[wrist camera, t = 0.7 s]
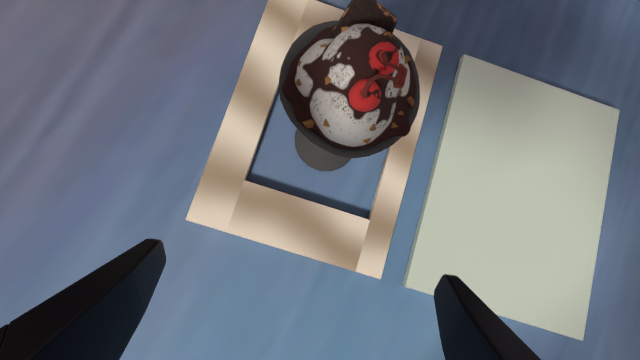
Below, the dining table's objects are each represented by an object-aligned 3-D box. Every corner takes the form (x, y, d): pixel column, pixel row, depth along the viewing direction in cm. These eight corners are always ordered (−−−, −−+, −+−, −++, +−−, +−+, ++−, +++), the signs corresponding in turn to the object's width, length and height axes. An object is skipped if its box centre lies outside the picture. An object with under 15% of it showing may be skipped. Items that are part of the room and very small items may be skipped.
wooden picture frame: (378, 277, 22) (380, 279, 22) (188, 219, 21) (185, 219, 21) (439, 50, 25) (442, 46, 25) (274, -10, 24) (273, -15, 24)
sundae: (326, 200, 23) (393, 170, 8) (266, 138, 23) (223, -4, 8) (383, 144, 24) (537, 25, 9) (326, 85, 24) (384, -128, 9)
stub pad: (575, 337, 23) (583, 341, 23) (402, 284, 22) (405, 286, 22) (612, 112, 26) (619, 110, 26) (460, 57, 25) (464, 54, 25)
